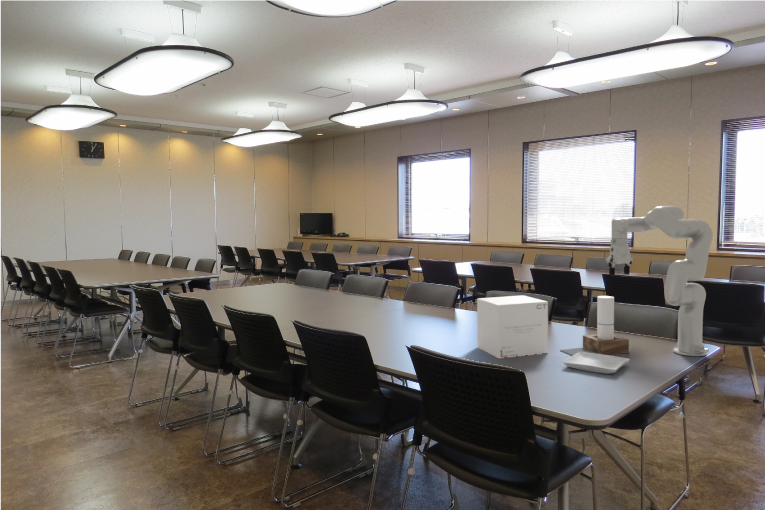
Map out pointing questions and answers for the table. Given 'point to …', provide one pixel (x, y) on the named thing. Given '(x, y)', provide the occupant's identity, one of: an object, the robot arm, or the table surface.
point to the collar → (606, 345)
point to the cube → (512, 326)
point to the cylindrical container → (605, 317)
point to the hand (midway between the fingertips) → (619, 274)
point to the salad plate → (596, 362)
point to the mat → (576, 351)
